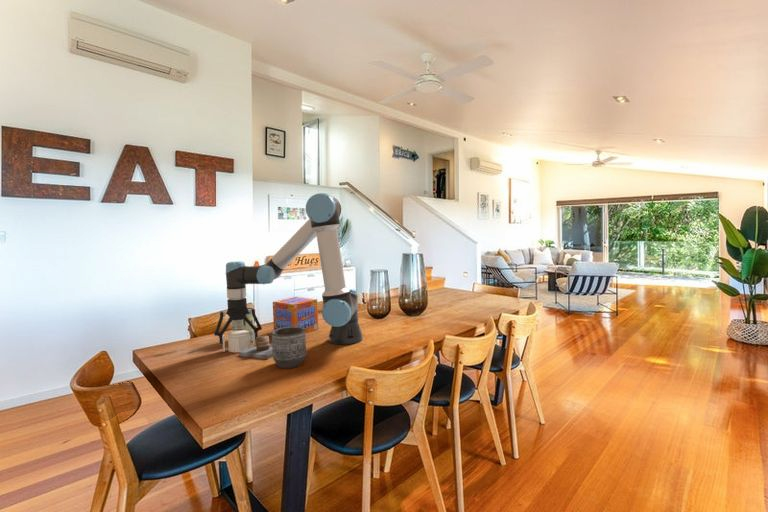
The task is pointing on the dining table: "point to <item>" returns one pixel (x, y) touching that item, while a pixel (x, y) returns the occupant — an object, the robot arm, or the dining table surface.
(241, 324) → the coffee can
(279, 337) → the planter
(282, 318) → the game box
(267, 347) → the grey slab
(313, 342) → the dining table surface
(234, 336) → the cap
